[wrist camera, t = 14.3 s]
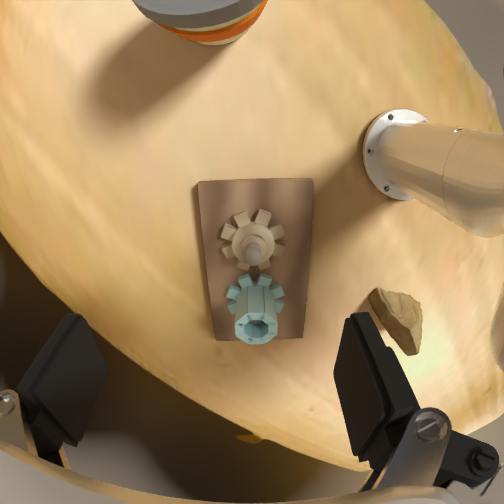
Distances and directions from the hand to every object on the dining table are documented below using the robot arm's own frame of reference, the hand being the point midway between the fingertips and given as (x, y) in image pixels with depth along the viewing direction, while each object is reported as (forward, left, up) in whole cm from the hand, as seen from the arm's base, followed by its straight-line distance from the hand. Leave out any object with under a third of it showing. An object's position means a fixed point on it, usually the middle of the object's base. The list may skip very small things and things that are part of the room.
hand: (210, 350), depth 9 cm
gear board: (-2, +13, -28) cm, 31 cm away
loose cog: (-2, +17, -27) cm, 32 cm away
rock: (-25, +20, -29) cm, 43 cm away
